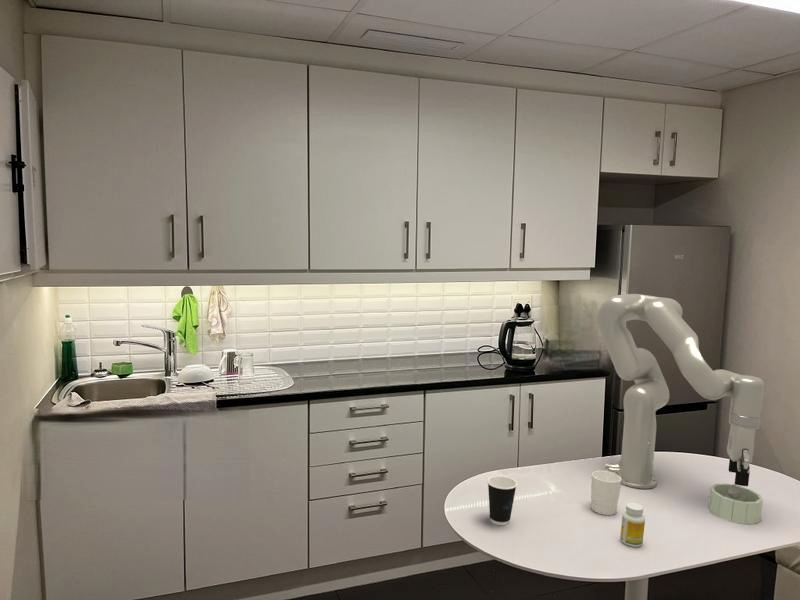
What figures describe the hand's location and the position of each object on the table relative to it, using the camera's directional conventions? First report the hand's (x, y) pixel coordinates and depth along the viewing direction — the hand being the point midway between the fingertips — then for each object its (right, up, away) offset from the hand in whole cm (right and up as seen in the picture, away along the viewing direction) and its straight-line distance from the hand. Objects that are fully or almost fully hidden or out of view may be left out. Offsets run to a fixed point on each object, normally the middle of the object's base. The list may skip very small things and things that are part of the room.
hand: (737, 478), depth 169 cm
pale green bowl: (0, -10, +1) cm, 10 cm away
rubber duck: (0, -9, +1) cm, 10 cm away
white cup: (-38, -9, 0) cm, 39 cm away
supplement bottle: (-37, -11, -17) cm, 42 cm away
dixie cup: (-69, -9, -9) cm, 70 cm away
